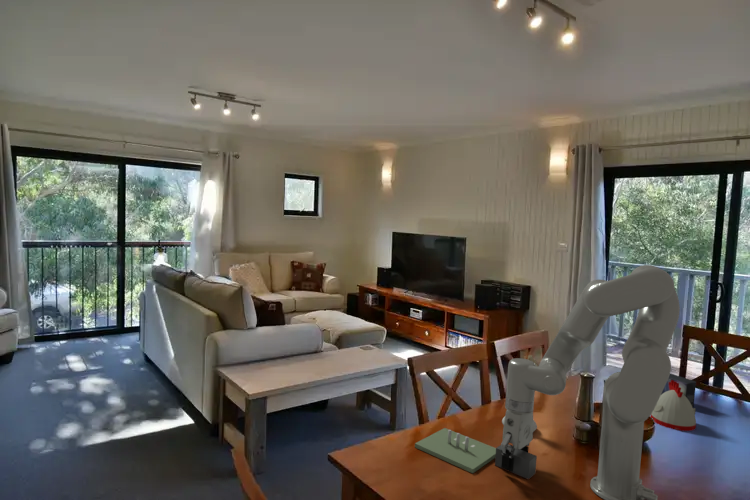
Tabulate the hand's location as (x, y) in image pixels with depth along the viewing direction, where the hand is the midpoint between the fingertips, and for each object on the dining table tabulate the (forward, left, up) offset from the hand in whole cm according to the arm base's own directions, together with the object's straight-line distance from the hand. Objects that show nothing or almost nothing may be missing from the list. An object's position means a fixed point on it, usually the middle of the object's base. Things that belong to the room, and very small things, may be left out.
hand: (514, 463), depth 133 cm
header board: (+17, +3, -2) cm, 17 cm away
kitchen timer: (-25, -75, -2) cm, 79 cm away
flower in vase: (+11, -27, -2) cm, 29 cm away
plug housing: (0, 0, -2) cm, 2 cm away
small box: (-22, -99, -2) cm, 102 cm away
